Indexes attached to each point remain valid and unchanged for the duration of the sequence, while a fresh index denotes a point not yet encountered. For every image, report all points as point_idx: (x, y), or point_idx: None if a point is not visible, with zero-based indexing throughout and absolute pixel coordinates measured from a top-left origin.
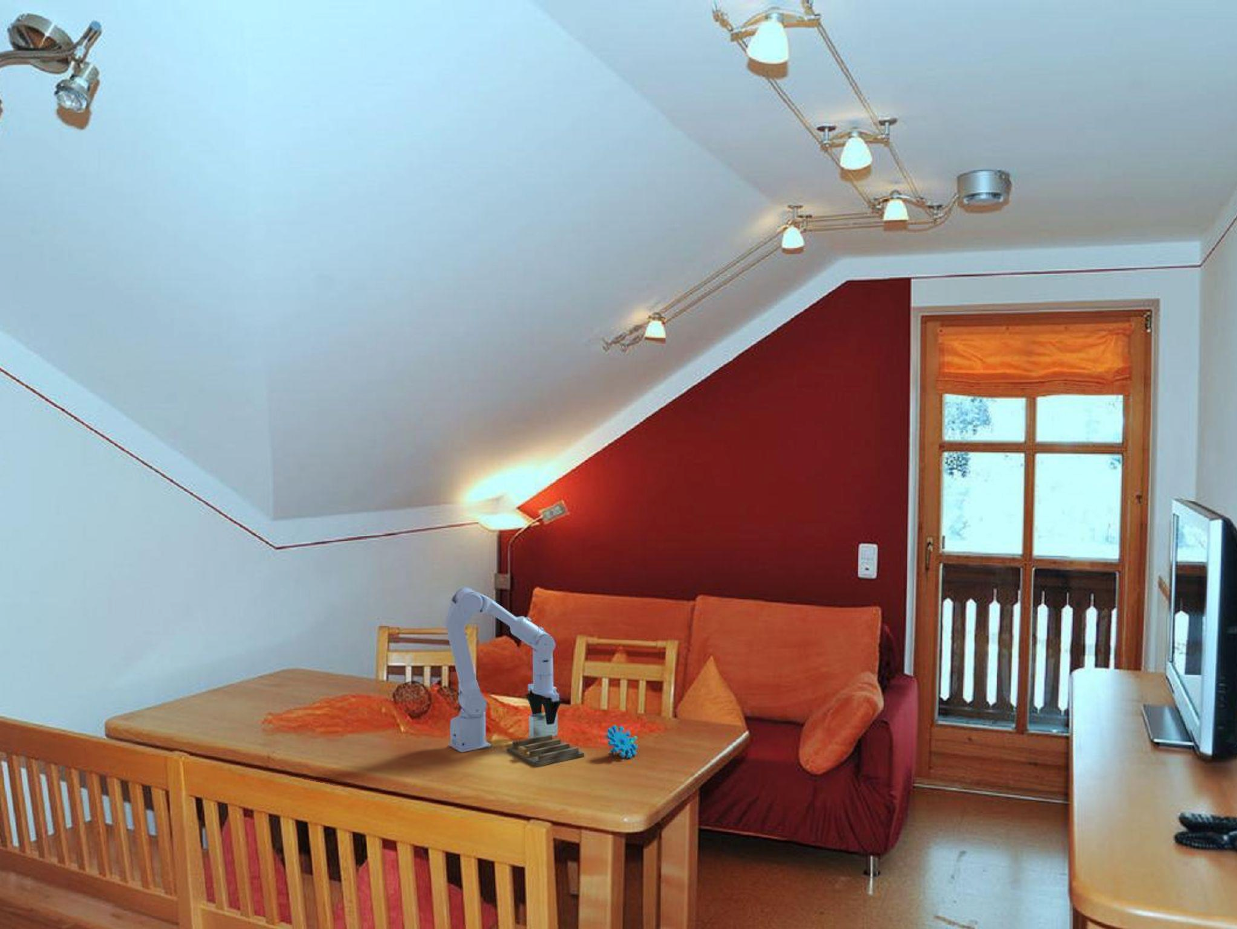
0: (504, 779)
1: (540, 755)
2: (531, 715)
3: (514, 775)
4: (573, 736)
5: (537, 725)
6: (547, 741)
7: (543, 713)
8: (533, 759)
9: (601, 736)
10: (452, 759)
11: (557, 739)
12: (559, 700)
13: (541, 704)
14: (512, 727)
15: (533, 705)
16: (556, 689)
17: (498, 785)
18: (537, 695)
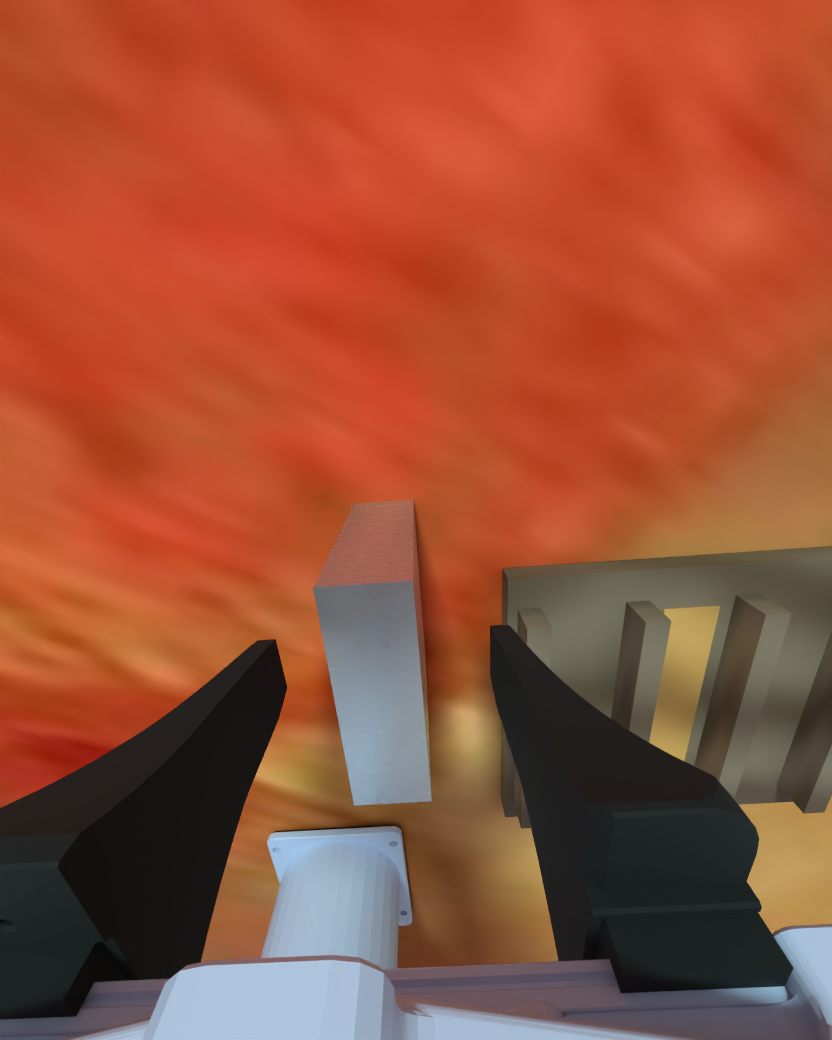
0: (791, 896)
1: (817, 806)
2: (373, 794)
3: (786, 864)
4: (473, 402)
5: (426, 704)
6: (648, 699)
7: (364, 700)
8: (743, 791)
9: (614, 180)
10: (464, 944)
11: (658, 637)
12: (737, 849)
13: (207, 723)
14: (105, 647)
15: (232, 806)
16: (362, 970)
17: (822, 922)
18: (146, 918)
